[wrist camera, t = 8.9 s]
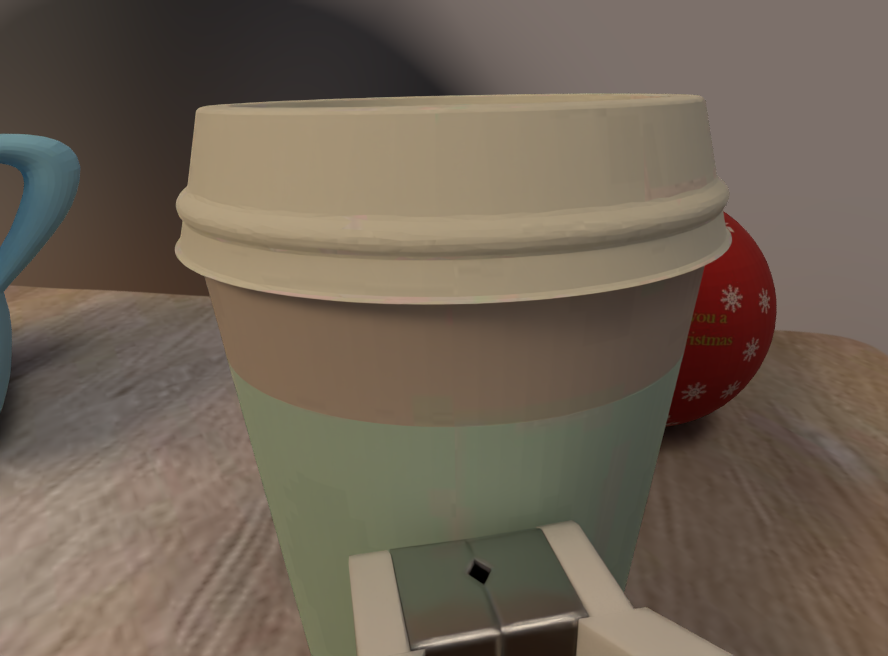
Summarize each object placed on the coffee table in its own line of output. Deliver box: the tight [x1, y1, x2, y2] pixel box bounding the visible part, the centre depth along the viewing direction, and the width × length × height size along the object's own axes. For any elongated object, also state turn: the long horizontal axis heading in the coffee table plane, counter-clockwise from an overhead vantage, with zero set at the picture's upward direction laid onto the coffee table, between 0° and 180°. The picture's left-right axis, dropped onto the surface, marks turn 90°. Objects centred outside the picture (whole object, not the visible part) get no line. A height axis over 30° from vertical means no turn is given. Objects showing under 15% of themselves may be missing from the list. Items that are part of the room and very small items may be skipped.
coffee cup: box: [175, 94, 732, 656], centre depth 12 cm, size 8×9×12 cm
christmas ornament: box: [666, 211, 776, 426], centre depth 23 cm, size 9×9×10 cm
